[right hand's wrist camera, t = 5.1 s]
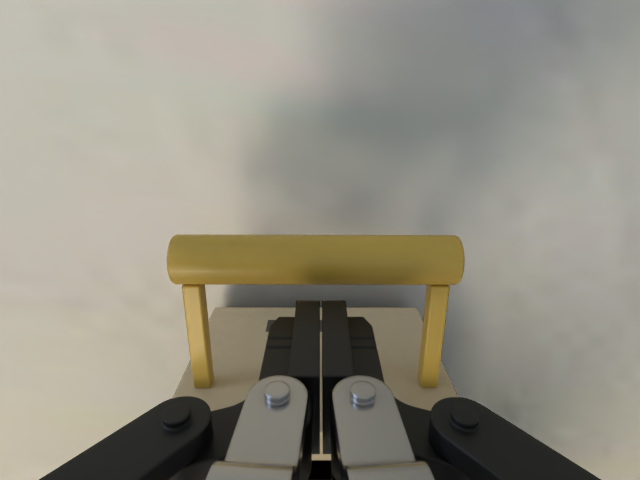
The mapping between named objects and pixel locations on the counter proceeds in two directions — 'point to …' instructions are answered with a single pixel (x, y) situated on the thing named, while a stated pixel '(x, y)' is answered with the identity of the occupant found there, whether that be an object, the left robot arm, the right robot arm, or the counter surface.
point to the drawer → (320, 269)
